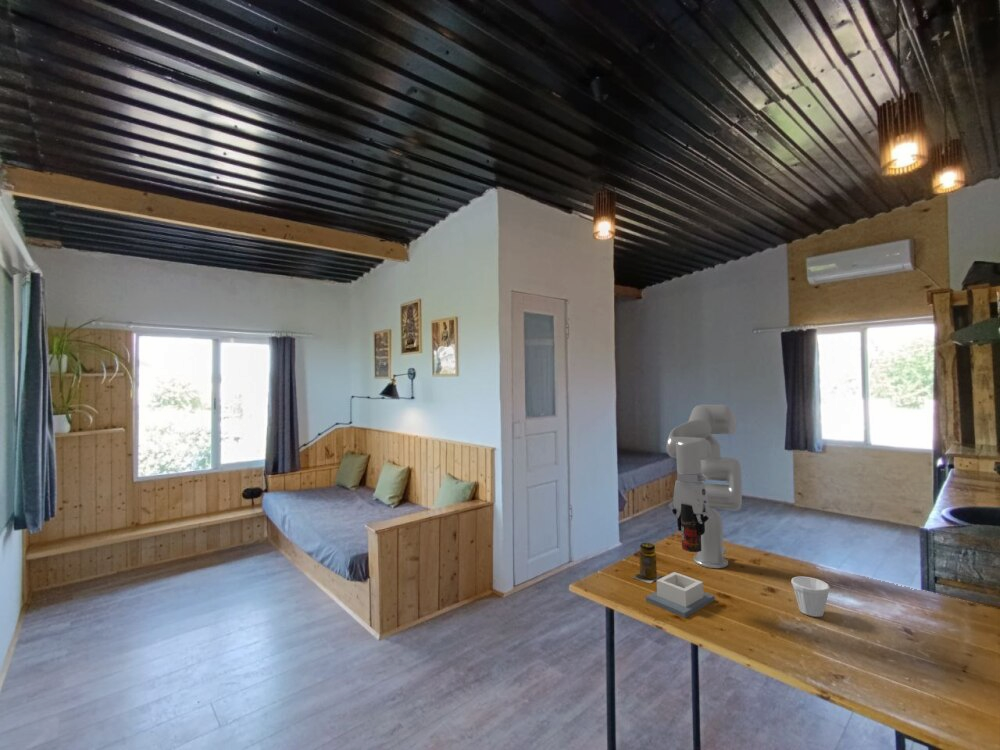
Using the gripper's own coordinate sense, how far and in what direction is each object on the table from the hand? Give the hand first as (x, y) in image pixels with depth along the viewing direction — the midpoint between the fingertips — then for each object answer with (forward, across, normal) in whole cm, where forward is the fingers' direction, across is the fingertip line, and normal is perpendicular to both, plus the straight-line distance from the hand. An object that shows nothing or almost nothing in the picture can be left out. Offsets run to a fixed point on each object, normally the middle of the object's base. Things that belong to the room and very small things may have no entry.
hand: (691, 531), depth 150 cm
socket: (+23, +4, +2) cm, 24 cm away
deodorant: (+6, 0, 0) cm, 6 cm away
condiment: (+24, +21, -6) cm, 32 cm away
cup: (+24, -27, -21) cm, 42 cm away
